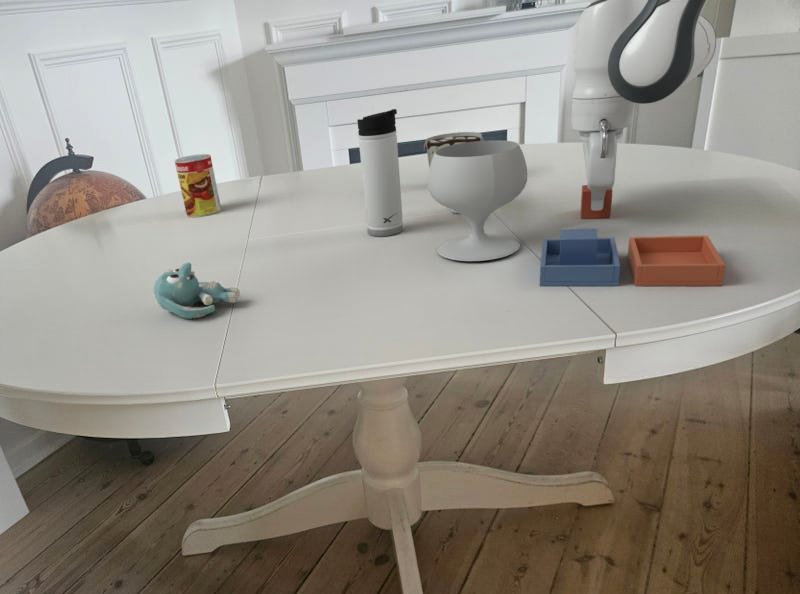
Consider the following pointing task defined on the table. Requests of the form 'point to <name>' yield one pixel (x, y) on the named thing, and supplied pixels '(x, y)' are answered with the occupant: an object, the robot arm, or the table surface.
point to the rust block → (586, 204)
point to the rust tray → (675, 261)
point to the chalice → (477, 193)
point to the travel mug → (380, 173)
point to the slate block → (578, 247)
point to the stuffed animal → (190, 293)
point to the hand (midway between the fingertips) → (595, 204)
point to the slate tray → (580, 266)
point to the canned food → (198, 185)
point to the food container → (449, 141)
